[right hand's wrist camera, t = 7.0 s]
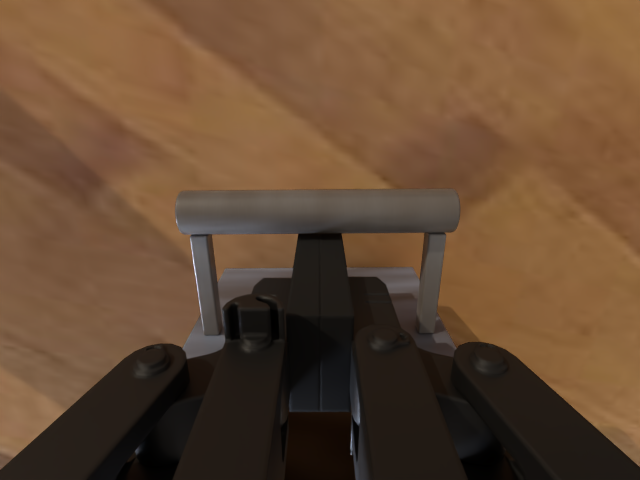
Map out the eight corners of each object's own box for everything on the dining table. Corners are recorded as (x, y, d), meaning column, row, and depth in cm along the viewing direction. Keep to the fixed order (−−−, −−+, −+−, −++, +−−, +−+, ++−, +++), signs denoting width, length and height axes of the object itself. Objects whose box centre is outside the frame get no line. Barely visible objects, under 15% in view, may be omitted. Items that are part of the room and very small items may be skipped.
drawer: (213, 162, 17) (136, 211, 10) (422, 160, 17) (497, 208, 10) (247, 475, 25) (218, 632, 18) (393, 474, 25) (424, 631, 18)
